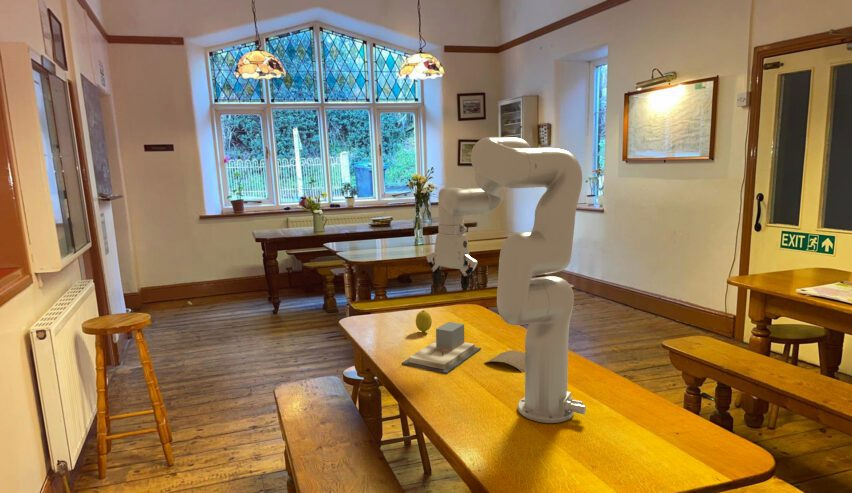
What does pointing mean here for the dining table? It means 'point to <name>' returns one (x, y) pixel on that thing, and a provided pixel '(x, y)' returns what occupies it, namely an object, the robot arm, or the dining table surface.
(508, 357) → the clay tablet
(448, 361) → the board
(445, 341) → the block
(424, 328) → the lemon
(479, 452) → the dining table surface
